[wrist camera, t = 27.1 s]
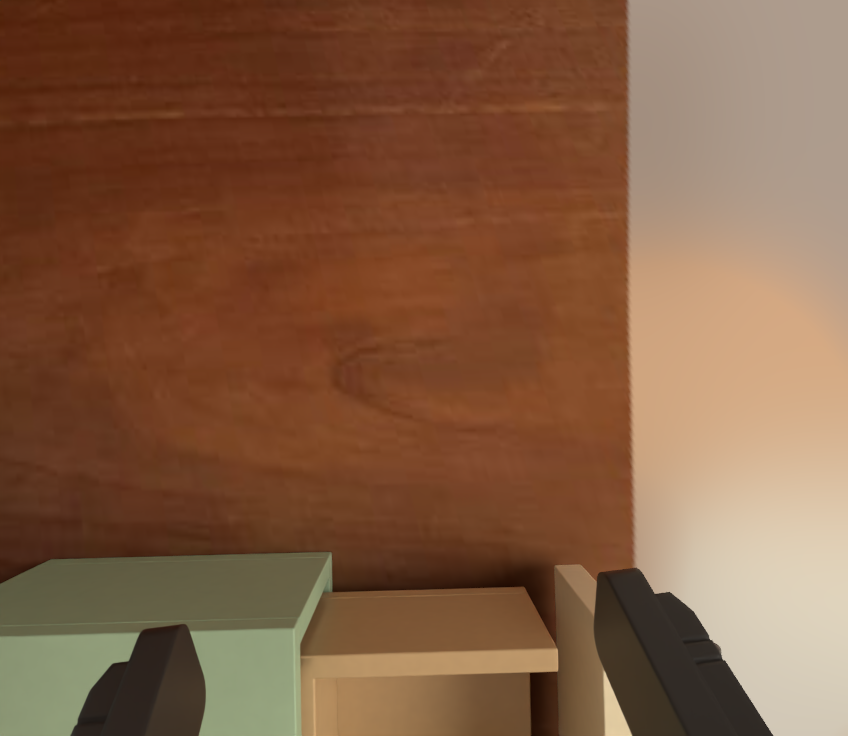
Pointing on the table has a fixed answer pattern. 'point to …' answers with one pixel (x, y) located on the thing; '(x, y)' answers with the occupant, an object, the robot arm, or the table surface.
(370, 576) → the table surface
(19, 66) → the table surface
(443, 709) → the drawer
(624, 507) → the table surface
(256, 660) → the cabinet
